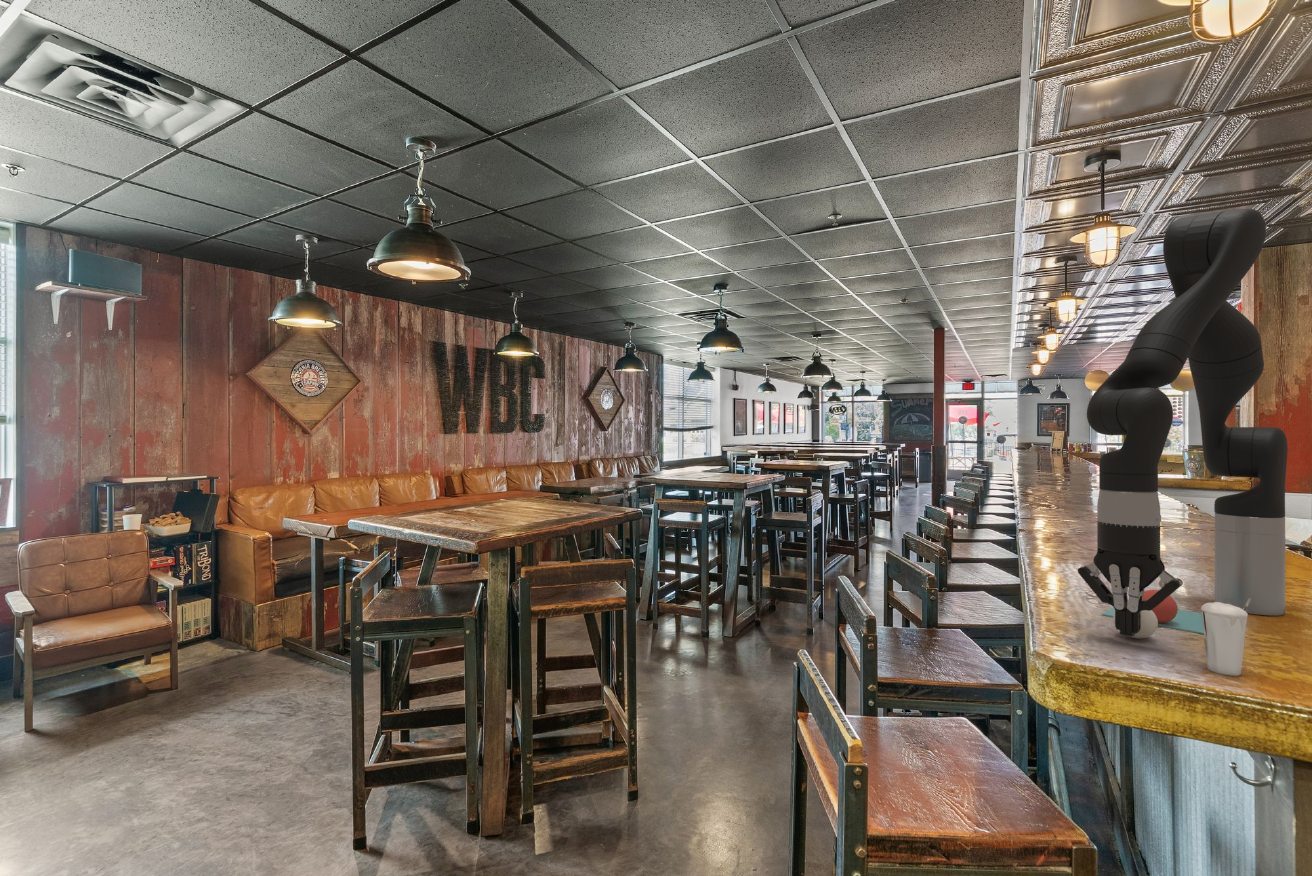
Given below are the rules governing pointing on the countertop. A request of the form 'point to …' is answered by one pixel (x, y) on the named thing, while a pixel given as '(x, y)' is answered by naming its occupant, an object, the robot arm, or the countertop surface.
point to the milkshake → (1224, 636)
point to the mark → (1179, 621)
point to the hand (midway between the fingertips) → (1128, 634)
